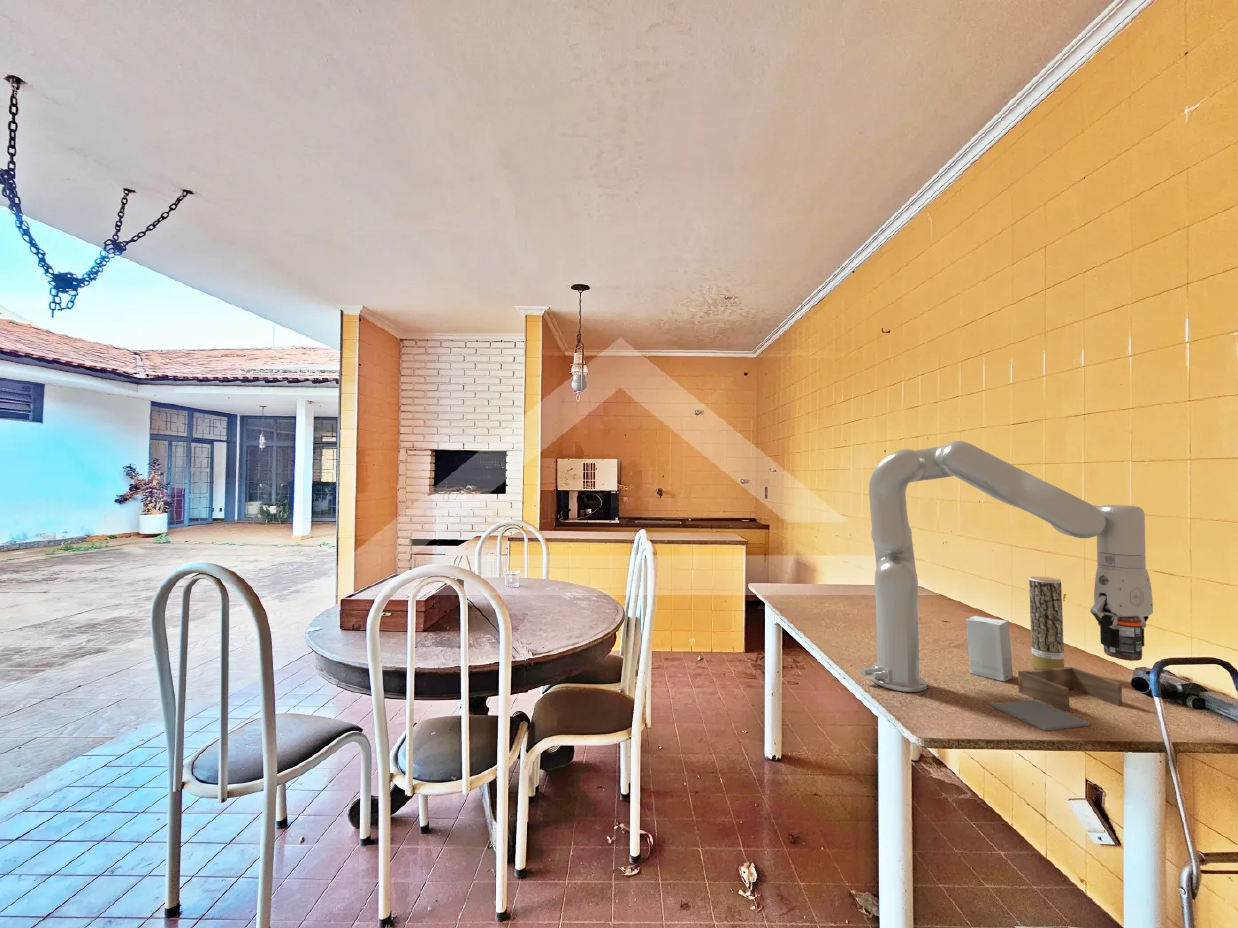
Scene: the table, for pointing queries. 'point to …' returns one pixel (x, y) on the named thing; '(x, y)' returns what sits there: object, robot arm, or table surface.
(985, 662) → the skincare box
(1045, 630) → the paper tube
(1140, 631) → the supplement bottle
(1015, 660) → the table surface
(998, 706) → the grey mat
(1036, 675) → the wooden open-sided frame
